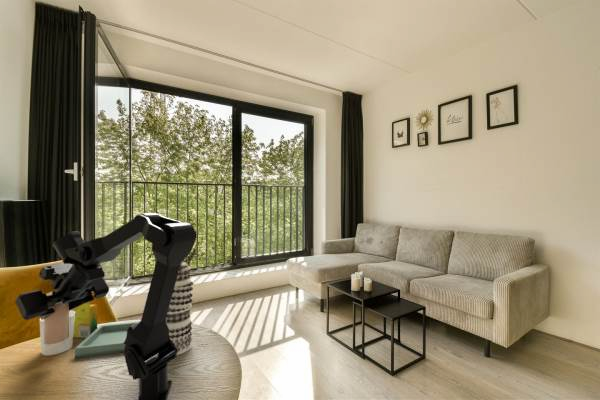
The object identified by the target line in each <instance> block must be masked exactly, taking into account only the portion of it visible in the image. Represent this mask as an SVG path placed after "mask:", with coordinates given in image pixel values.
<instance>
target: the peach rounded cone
mask: <svg viewBox="0 0 600 400" xmlns="http://www.w3.org/2000/svg"><path fill="white" fill-rule="evenodd" d="M52 292H53V291H49V292H48V293H46V295H47V296H50V295H52ZM53 309H54V310H55V312H54V313H53V314H51V315H50V316H48V317H47V318H45V319H44V344H55V343H59V342H62V341H64V340H66V339H68V338H69V302H68V303H65V304H63V302H61V303H58V304H55V306H54V307H53Z"/></svg>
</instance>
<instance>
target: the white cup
mask: <svg viewBox="0 0 600 400" xmlns="http://www.w3.org/2000/svg"><path fill="white" fill-rule="evenodd" d="M74 326H75V311H71V310H70V311H69V338H68V339H66V340H64V341H62V342H59V343H55V344H44V319H43V320H41V318H40V317H39V335H40V336H39V337H40V345H41V355H42V356H45V357H46V356H55V355H59V354H61V353H65V352H67V351H68V350H71V349H72V348H73V339H74V337H73V336H74Z"/></svg>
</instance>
